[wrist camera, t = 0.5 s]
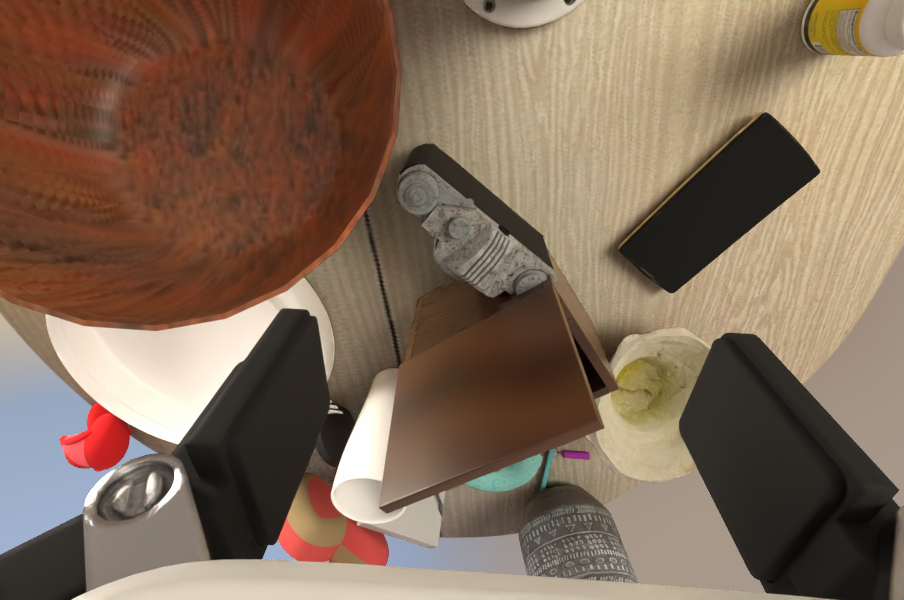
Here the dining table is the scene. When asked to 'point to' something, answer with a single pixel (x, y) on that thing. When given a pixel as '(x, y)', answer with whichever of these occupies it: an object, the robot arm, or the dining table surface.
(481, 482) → the donut
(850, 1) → the supplement bottle
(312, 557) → the decorative object
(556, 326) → the lid
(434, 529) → the grey square panel
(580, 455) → the teal t-shaped tool
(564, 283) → the chest
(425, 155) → the camera
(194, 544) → the robot arm
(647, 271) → the smartphone
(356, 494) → the white tumbler cup
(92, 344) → the plate
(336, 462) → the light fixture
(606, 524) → the planter
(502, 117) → the dining table surface
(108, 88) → the bowl
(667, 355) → the bowl
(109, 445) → the cap
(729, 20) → the dining table surface
